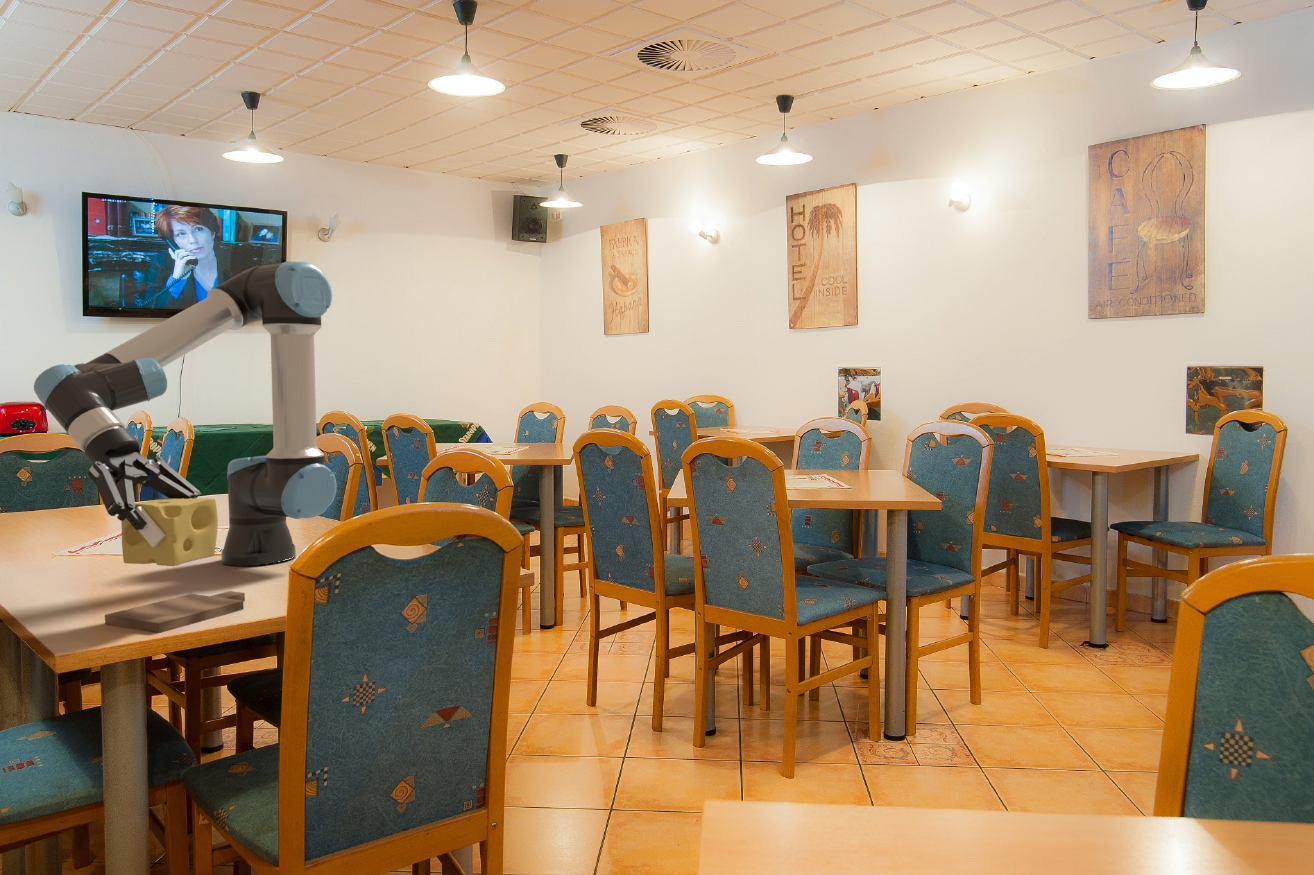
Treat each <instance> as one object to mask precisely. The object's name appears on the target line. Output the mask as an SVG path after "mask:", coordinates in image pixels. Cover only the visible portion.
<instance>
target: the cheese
mask: <svg viewBox="0 0 1314 875" xmlns="http://www.w3.org/2000/svg"><path fill="white" fill-rule="evenodd" d="M139 506H142V508H143V509H144V510H145V511H146V513H147V514H148V515H149V516H150V517H151V519H152V520H153V521H154V522H155V523H156V525H157V526H158V527H159V528H160V529H161V531H162V532H163V533H164V534H165V535H166V536H165V537H164V538H163V539H162V540H161V542H160V543H159V544H158V545H157V546H156V547H153V548H152V546H151V545H150V544H149V543H148V542H147V540H146V539H145V538H144V537H143V536H142V534H141V533H140V532H139V531H138V530H136V529H135V528H134V527H133V526H132V525H131V524H130V522H129V521H128V520H127V519H125V520H124V521H121V520H120V522H121V523H120V524H121V548H122V549H121V550H122V558H123V563H124V564H130V565H131V564H132V565H148V564H149V565H150V564H156V565H157V566H162V567H163V566H165V567H175V566H180V565H183V564H185V563H191V562H194V561H198V560H203V559H208V558H212V557H214V556H215V551H216V546H217V537H218V527H219V517H218V508H217V501H216V498H214V497H211V498H209V497H208V498H207V497H203V498H196V499H175V498H168V497H164V498H157V499H152V500H146V501H140V502H135V509H136V508H137V507H139Z"/></svg>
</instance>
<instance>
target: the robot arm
mask: <svg viewBox="0 0 1314 875" xmlns="http://www.w3.org/2000/svg"><path fill="white" fill-rule="evenodd" d="M331 287H332V286H331V283H330V281H329V280H328V278H327V276H326V274H324V273H323V272H322V271H321V269H320V268H318V267H317V266H315V265H314V264H312V263H310V262H307V261H294V260H293V261H289V260H288V261H284V262H279V263H272V264H271V263H269V264H260V265H256V266H252V267H250V268H248V269H246V270H243V271H241V273H238V274H236V275H235V276H233V277H231V278H229V279H227V280H226V281H224V282H223V283H221V284H219V285H217V286H215V287H213V288H212V289H210V290H209V291H208V292H207V295H206V296H207V297H206V298H204V299H202V300H201V301H198V302H196V303H195V304H193V305H191V306H189V307H187V308H186V309H184V310H182V311H180V312H178V313H177V314H175V315H173V316H171V317H169V318H167V319H165V320H164V321H162V322H160V323H158V324H156V325H154V326H153V327H151V328H149V329H147V330H145V331H143V332H142V333H140V334H138V335H136V336H134V337H133V338H130V339H129V340H126V341H125V342H123V343H121V344H120V345H118V346H115V347H114V348H112V349H111V350H108V351H106V352H105V353H103V354H102V355H99V356H98V357H97V356H96V357H95V358H94V359H91V360H90V361H88V362H86V363H85V362H84V363H81V362H80V363H77V364H74V365H73V364H72V365H71V364H64V363H63V364H55V365H53V366H50V367H48V368H47V369H45V370H44V371H42V372H41V373H40V374H39V375H38V376H37V377H36V379H35V380H34V383H33V391H34V393H35V395H36V396H37V398H38V399H39V401H40V403H42V405H43V407H44V409H45V410H46V411H48V412H49V413H50V414H51V415H52V416H53V418H54V419H55V420H56V421H57V422H58V424H59V425H60V426H61V427H62V428H63V429H64V431H65V432H66V433H67V434H68V435H69V436H70V438H71V439H72V440H73V441H74V442H75V444H76V445H77V446H78V447H79V449H80V450H81V451H82V452H83V453H84V455H85V457H86V458H87V459H88V460H89V461H90V463H91V464H92V466H91V467H90V468H89V469H88V471H86V474H87V475H88V476H89V478H90V479H91V480H92V481H93V483H94V484H95V487H96V489H97V491H98V493H99V496H100V499H101V500H102V502H103V505H104V507H105V510H106V512H107V514H108V515H109V516H112V517H115V516H116V515H117V516H116V518H117V519H118V520H119V521H120V522H121V521H124V520H125V519H127V520H128V521H129V522H130V524H131V525H132V526H133V527H134V528H135V529H136V530H138V531H139V532H140V533H141V534H142V536H143V537H144V538H145V539H146V540H147V542H148V543H149V544H150V545H151V546H152V548H153V547H156V546H157V545H158V544H159V543H160V542H161V540H162V539H163V538H164V537H165V536H166V535H165V534H164V533H163V532H162V531H161V529H160V528H159V527H158V526H157V525H156V523H155V522H154V521H153V520H152V519H151V517H150V516H149V515H148V514H147V513H146V511H145V510H144V509H143V508H142V506H139V507H137V508H136V509H135V503H136V501H135V493H134V487H133V486H134V485H133V484H135V485H137V484H138V485H142V486H144V487H145V488H152V489H154V490H155V491H157V492H158V493H160V494H162V495H163V496H165V498H175V499H198V497H199V496H200V495H201V491H200V490H199V489H197V488H196V487H195V486H194V485H193V484H191V483H190V482H189V481H188V480H186V479H185V478H184V477H183V476H182V475H181V474H180V473H178V472H177V471H176V470H175V469H173V468H172V467H171V466H170V465H168V464H167V462H166V461H165V460H164V458H163V457H161V456H160V455H156V456H155V458H154V459H148V458H147V457H146V456H144V455H143V454H142V453H141V452H140V451H141V449H140V442H139V441H138V440H137V439H136V438H135V437H134V435H133V434H132V433H131V431H129V429H127V428H126V425H125V424H124V422H122V420H121V419H120V418H119V417H118V416H117V415H116V413H114V411H117V410H119V409H123V408H126V407H129V406H130V407H131V406H134V405H137V404H140V403H144V402H150V401H151V400H153V399H155V398H158V397H161V396H163V395H164V394H165V393H166V392H167V390H168V378H167V375H166V372H165V371H164V367H166V366H168V365H170V364H171V363H173V362H175V361H177V360H178V359H180V358H181V357H183V356H185V355H187V354H188V353H190V352H191V351H194V350H196V349H197V348H199V347H200V346H202V345H203V344H206V343H207V342H209V341H211V340H212V339H215V338H216V337H218V336H219V335H221V334H223V333H225V332H226V331H228V330H229V329H230V330H233V331H237V330H240V329H241V328H243V327H245V326H246V325H249V324H252V323H255V322H260V321H262V323H261V324H262V326H261V327H263V328H264V329H265V330H266V332H267V333H269V335H270V355H271V356H270V359H271V362H270V364H271V368H270V369H271V396H272V397H271V398H272V402H271V404H272V405H271V406H272V434H273V436H272V437H273V438H272V439H273V443H272V444H273V448H272V449H271V450H270V451H269V452H268V453H267V454H266V455H259V456H252V457H251V456H250V457H242V458H235V459H232V460H231V461H230V462H228V465H227V473H226V480H227V495H228V496H227V498H228V521H229V522H228V524H229V527H228V530H227V534H226V538H225V541H224V545H223V549H222V551H221V553H220V555H221V564H223V565H228V566H239V567H240V566H241V567H242V566H243V567H244V566H245V567H246V566H247V567H249V566H261V565H260V564H265V565H270V564H269V563H273V564H276V563H275V562H278V561H283V560H285V559H289V558H292V557H293V556H294V558H293V559H295V558H296V556H297V554H296V545H295V544H294V541H293V538H292V534H291V532H290V530H289V527H288V525H287V518H291V519H295V520H301V519H313V518H316V517H318V516H320V515H322V514H324V513H325V512H326V511H327V510H328V508H329V507H331V505H332V504H333V501H334V499H335V497H336V493H337V487H338V486H337V480H336V476H335V474H334V473H333V472H332V471H331V469H330V468H328V466H326V462H325V461H326V458H325V453H324V452H323V451H322V450H321V449H320V448H319V447H318V444H317V442H318V439H317V437H318V436H317V407H316V406H317V405H316V404H317V400H316V399H317V398H316V395H317V394H316V364H315V362H316V360H315V335H316V333H317V332H318V331H319V330H321V328H322V316H323V315H325V313H327V312H328V310H329V308H330V307H331V305H332V300H333V291H332V288H331ZM151 474H152V475H151ZM150 475H151V477H150ZM149 477H150V478H149ZM148 478H149V479H148ZM295 554H296V555H295Z"/></svg>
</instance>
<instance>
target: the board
mask: <svg viewBox="0 0 1314 875" xmlns="http://www.w3.org/2000/svg"><path fill="white" fill-rule="evenodd" d="M245 594H246V593H245V592H241V591H234V590H233V591H232V590H229V591H224V592H222V593H217V594H212V595H206V594H205V595H204V594H197V593H187V594H185V595H184V594H183V595H180V596H177V597H172V598H168V599H164V600H160V601H156V602H151V603H148V604H147V603H146V604H143V605H139V606H135V607H131V608H127V609H124V610H118V611H114V612H111V613H107V614H104V624H105V625H110V626H116V627H123V628H129V629H135V630H140V629H141V631H145V632H152V631H155V632H154V633H158V632H160V633H162V632H161V631H163V632H167V631H169V630H170V629H171V630H173V629H177V627H178V628H180V627H184V625H185V626H189V625H192V624H196V623H200V622H202V621H201V620H203V621H206V619H207V620H210V619H214V618H217V617H221V616H224V615H227V614H232V613H235V612H238V611H242V609H243V610H244V602H245V601H246V597H245ZM216 616H217V617H216ZM209 618H210V619H209ZM191 623H192V624H191ZM166 630H167V631H166ZM171 630H170V631H171Z"/></svg>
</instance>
